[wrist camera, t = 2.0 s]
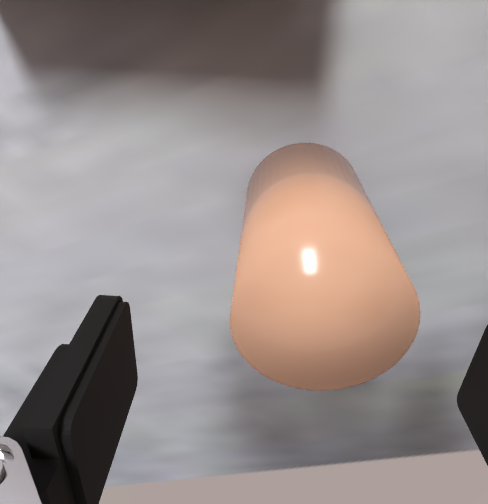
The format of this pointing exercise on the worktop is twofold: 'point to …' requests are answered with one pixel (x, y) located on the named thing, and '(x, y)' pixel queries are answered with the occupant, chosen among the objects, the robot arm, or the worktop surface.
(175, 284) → the worktop surface
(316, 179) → the glossy peach capsule
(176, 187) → the worktop surface
